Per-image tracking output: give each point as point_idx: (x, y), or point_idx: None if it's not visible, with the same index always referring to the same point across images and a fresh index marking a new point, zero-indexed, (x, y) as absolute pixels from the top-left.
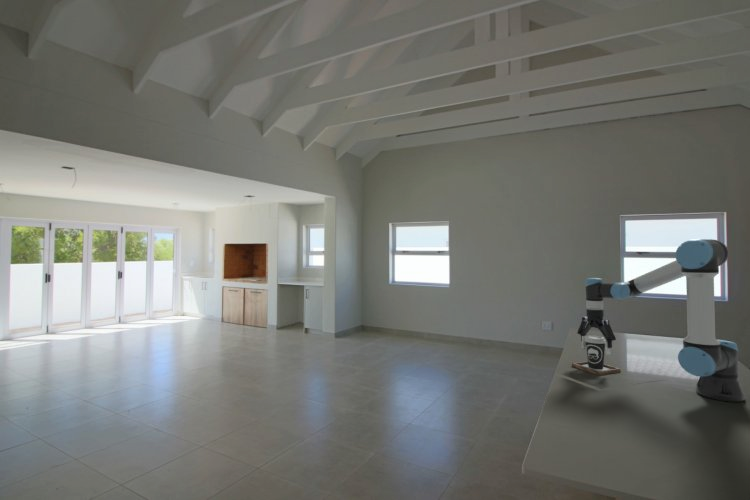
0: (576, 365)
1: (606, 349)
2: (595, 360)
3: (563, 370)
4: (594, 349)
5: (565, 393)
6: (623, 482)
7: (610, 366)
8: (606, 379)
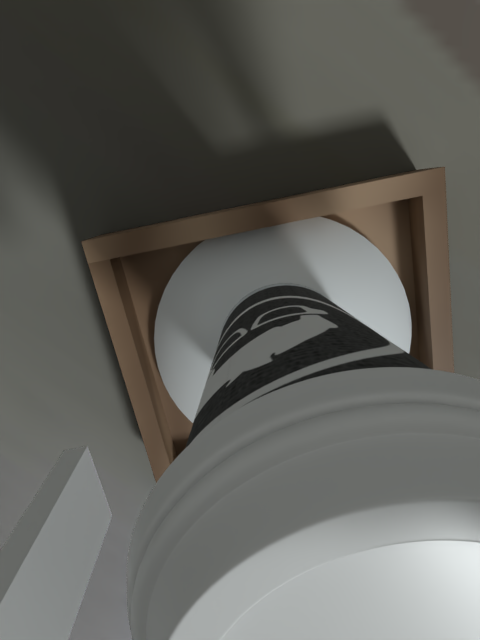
0: (375, 181)
1: (34, 510)
2: (227, 336)
3: (390, 24)
4: (220, 389)
5: None
6: None
7: None
8: (52, 268)
